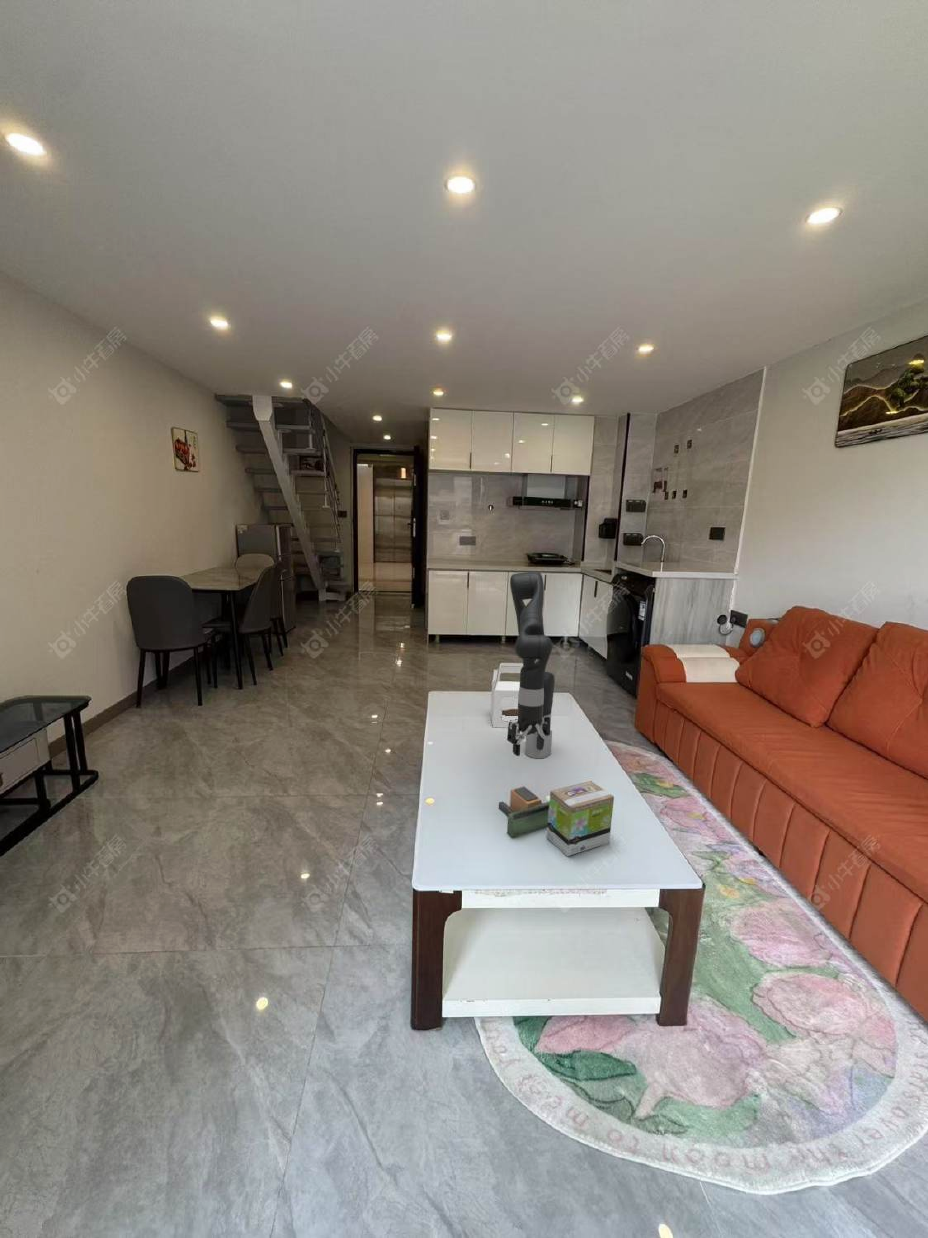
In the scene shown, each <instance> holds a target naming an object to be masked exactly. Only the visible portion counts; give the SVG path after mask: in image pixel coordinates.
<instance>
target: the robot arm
mask: <svg viewBox="0 0 928 1238" xmlns="http://www.w3.org/2000/svg"><path fill="white" fill-rule="evenodd" d="M509 583H510V587H509V588H510V592H511V596H512V602H513V605H514V610H515V614H516V615H515V616H516V624H517V625H516V626H517V632H518V636H517V638H516V642H515V643H514V644H515V646H514V651H515V654H516V656H518V657H519V658H520V659H522V663H523V667H522V668H521V671H520V673H519V681H520V687H519V693H518V698H517V709H518V713H517V714H518V721H517V722H515V723H512V722H509V725H508V728H507V737H506V740H507V741H508V742H509V743H511V744H512V753H513V754H514V756H516V757H520V755H521V742H522V741H523V740H524V739H525V747H524V749H525V750H524V753H525V755H526V756H527V757H530V758H533V759H545V758H547V757H549V755H551V754H552V742H553V741H552V740H553V730H551V724H552V723H551V721H552V708H553V702H554V691H555V684H556V683H555V675H554V674H553V673H552V672H549V671H546V668H547V666H548V665H547V664H548V662H549V659H550V656H551V654H552V650H553V642H552V640H551V638H550V637H549V636H547V635H545V626H544V618H543V610H544V596H545V587H544V586H545V585H544V579H543V576H542V574H541V572H540V571H525V572H518V573H513V574H511V576H510V579H509ZM524 600H525V601H526V600H529V602H528V603H527V604H525V602H524ZM517 727H518V728H517Z"/></svg>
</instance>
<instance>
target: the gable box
mask: <svg viewBox="0 0 928 1238" xmlns="http://www.w3.org/2000/svg"><path fill="white" fill-rule="evenodd" d="M522 667H523V662H500V663H499V666H498V668H497V669H493V676H492V681H491V694H490V695H491V698H490V699H491V700H490V720H491V719H492V721H491V726H492V725H493V727H505V728H504V729H508V725H509V722H512V723H515V722H517V721H518V719H515V720H510V721H503V720H502V715H505V716H518V714H517V713H518V708H510V709H504V710H503V709H502V707H501V700H502V699H504V698H514V699H518V693H519V687H520V680H519V681H518V680H517V681H516V680H500V679H501V674H520V671H521V668H522ZM493 727H492V728H493ZM517 729H518V727H517Z"/></svg>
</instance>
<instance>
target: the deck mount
mask: <svg viewBox="0 0 928 1238" xmlns="http://www.w3.org/2000/svg"><path fill="white" fill-rule="evenodd" d="M549 803H550V800H549V801H547V802H542V801H541V804H540V805H536V806H533V807H530V808H527V809H523V810H520V811H517V812H515V811H514V810H513V809H511V808H510V805H508V804H507V803H506V802H504V801H500V802H499V801H498V809H499V810H500V811H501V812H502V813H503V814H505V816H506V817H507V830H506V831H507V832H506V834H507V835H508V836H509V837H510V838H511V839H513V838H517V837H520V836H522V835H525V834H529V833H531V832H535V831H538V830H540V829H543V828H547V826H548V813H549Z"/></svg>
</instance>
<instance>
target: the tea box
mask: <svg viewBox="0 0 928 1238" xmlns="http://www.w3.org/2000/svg"><path fill="white" fill-rule="evenodd" d="M614 800H615V796H614V795H612V794H611V793H610V792H608V791H606V790H605V789H604V788H602V787H600V785H598V784H596V783H595V782H593V780H589V781H586V782H581V783H577V784H573V785H569V786H565V787H561V788H557V789H552V790H550V794H549V801H550V803H549V813H548V826H546V838H547V839H548V840H549V841H550V842H551V843H552V844H553V845H554V846H555V847H556V848H558V850H560V851H561V852H562V853H563V854H564V855H565V856H567V857H571V856H572V855H575V854H576V855H577V854H579V853H581V852H584V851H588V850H591V849H594V847H595V848H597V847H601V846H604V845H607V843H608V844H609V843H610V840H611V830H612V818H613V812H614V811H613V808H614V802H615V801H614Z"/></svg>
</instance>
